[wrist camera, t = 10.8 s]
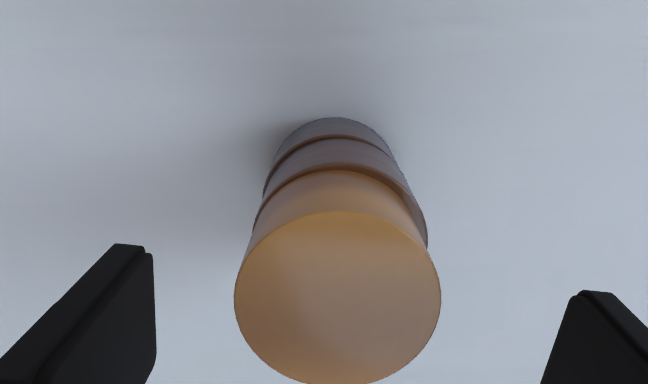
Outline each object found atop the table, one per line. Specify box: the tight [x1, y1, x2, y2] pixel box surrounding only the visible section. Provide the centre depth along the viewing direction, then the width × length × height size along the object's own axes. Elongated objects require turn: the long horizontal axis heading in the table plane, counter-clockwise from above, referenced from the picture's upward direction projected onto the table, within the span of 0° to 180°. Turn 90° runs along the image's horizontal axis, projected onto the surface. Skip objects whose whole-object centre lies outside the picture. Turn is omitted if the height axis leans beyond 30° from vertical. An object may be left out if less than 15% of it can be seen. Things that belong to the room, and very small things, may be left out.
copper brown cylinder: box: [234, 170, 441, 384], centre depth 13 cm, size 5×5×3 cm
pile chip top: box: [252, 138, 428, 249], centre depth 16 cm, size 6×6×3 cm
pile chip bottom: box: [262, 118, 398, 199], centre depth 19 cm, size 6×6×3 cm
